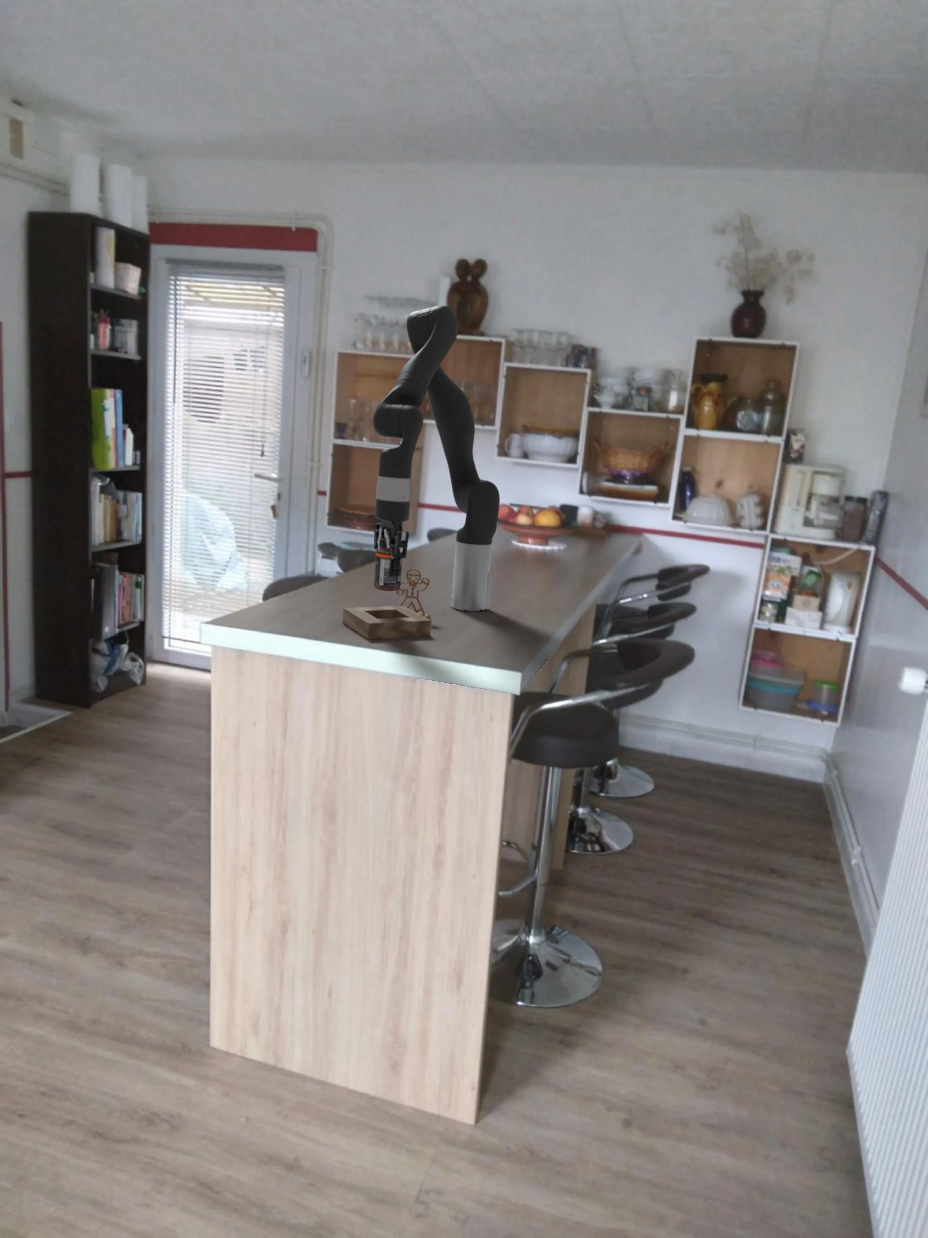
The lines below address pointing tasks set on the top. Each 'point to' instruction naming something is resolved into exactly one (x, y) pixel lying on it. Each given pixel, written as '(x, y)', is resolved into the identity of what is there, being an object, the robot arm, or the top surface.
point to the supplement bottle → (385, 570)
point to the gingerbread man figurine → (412, 591)
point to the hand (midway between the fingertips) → (388, 573)
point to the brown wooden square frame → (386, 622)
